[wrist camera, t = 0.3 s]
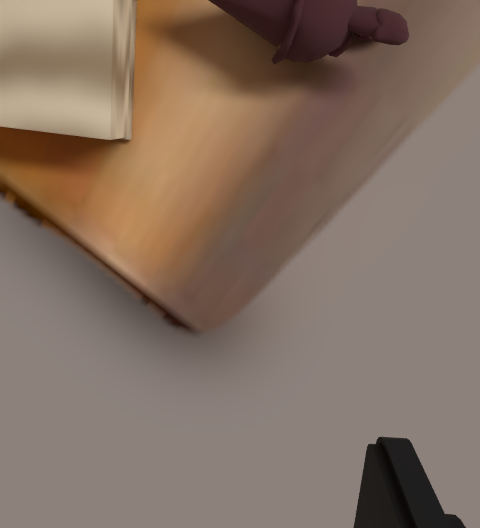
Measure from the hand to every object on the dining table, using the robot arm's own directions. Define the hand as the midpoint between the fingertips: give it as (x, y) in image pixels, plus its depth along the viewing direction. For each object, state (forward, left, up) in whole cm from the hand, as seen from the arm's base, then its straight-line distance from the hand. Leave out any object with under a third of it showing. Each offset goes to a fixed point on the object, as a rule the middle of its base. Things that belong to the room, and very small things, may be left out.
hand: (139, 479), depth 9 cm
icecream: (-14, +3, -31) cm, 34 cm away
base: (-9, -14, -31) cm, 35 cm away
